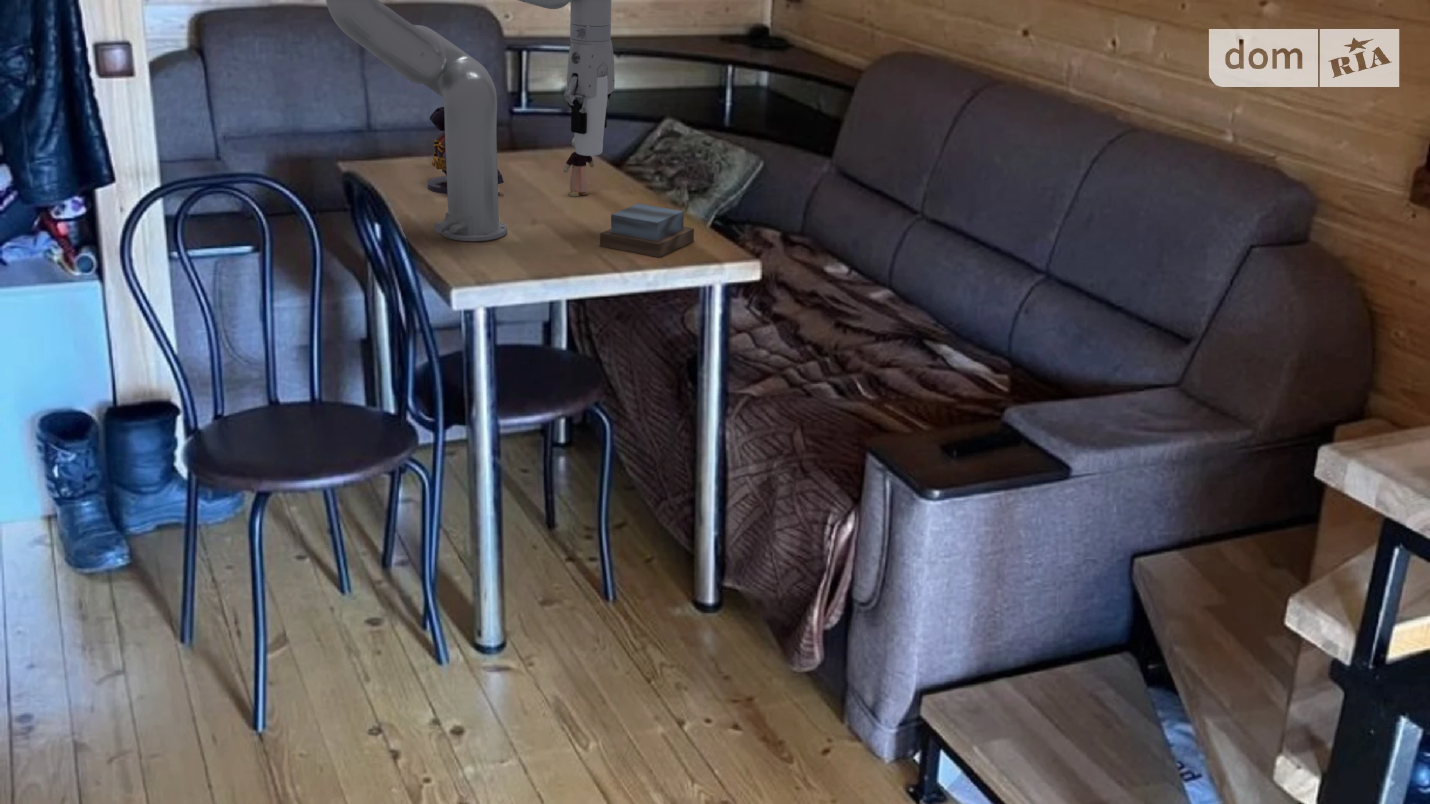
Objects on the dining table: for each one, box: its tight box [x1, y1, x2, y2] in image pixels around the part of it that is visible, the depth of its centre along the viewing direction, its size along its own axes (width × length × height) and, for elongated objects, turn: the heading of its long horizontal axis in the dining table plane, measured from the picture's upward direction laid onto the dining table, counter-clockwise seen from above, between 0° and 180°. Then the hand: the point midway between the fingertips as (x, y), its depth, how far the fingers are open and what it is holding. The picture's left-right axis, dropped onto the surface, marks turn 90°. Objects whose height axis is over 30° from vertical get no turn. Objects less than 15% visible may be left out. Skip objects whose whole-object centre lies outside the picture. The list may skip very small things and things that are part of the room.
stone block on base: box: [599, 203, 695, 258], centre depth 273 cm, size 13×13×6 cm
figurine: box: [427, 106, 505, 195], centre depth 306 cm, size 20×14×17 cm
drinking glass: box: [573, 75, 608, 157], centre depth 273 cm, size 7×7×15 cm
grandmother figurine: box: [563, 137, 595, 198], centre depth 304 cm, size 8×4×13 cm, turn 143°
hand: (588, 129), depth 274 cm, fingers closed on drinking glass, 6 cm apart
